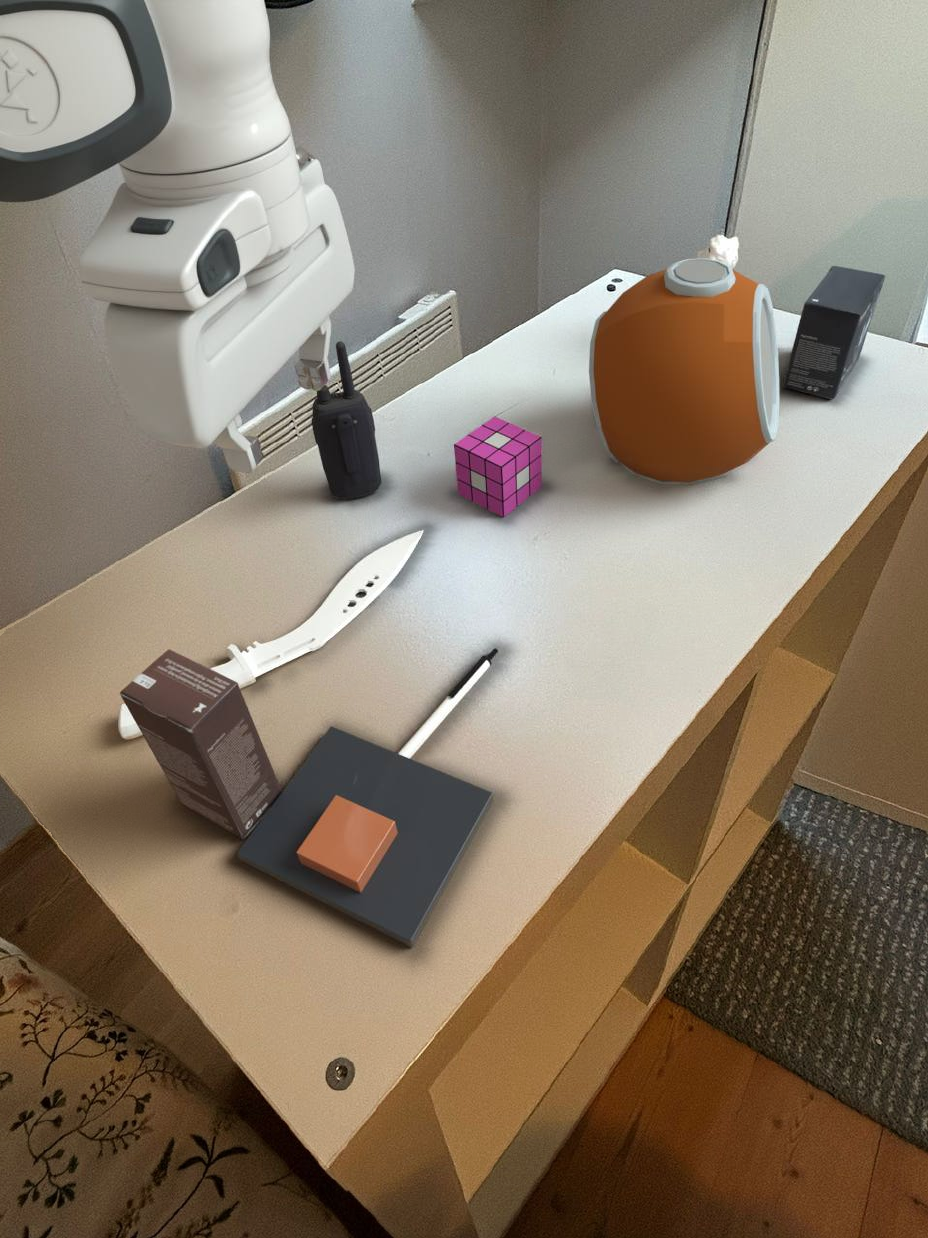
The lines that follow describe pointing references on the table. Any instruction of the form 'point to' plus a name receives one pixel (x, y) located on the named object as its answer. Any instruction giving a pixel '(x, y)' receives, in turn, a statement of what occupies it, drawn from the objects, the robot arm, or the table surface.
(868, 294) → the box
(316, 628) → the knife
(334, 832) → the orange square block
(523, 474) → the puzzle toy
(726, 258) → the white creature statuette
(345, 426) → the two-way radio
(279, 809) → the slate tile
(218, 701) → the box
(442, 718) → the pen
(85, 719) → the table surface
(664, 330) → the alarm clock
